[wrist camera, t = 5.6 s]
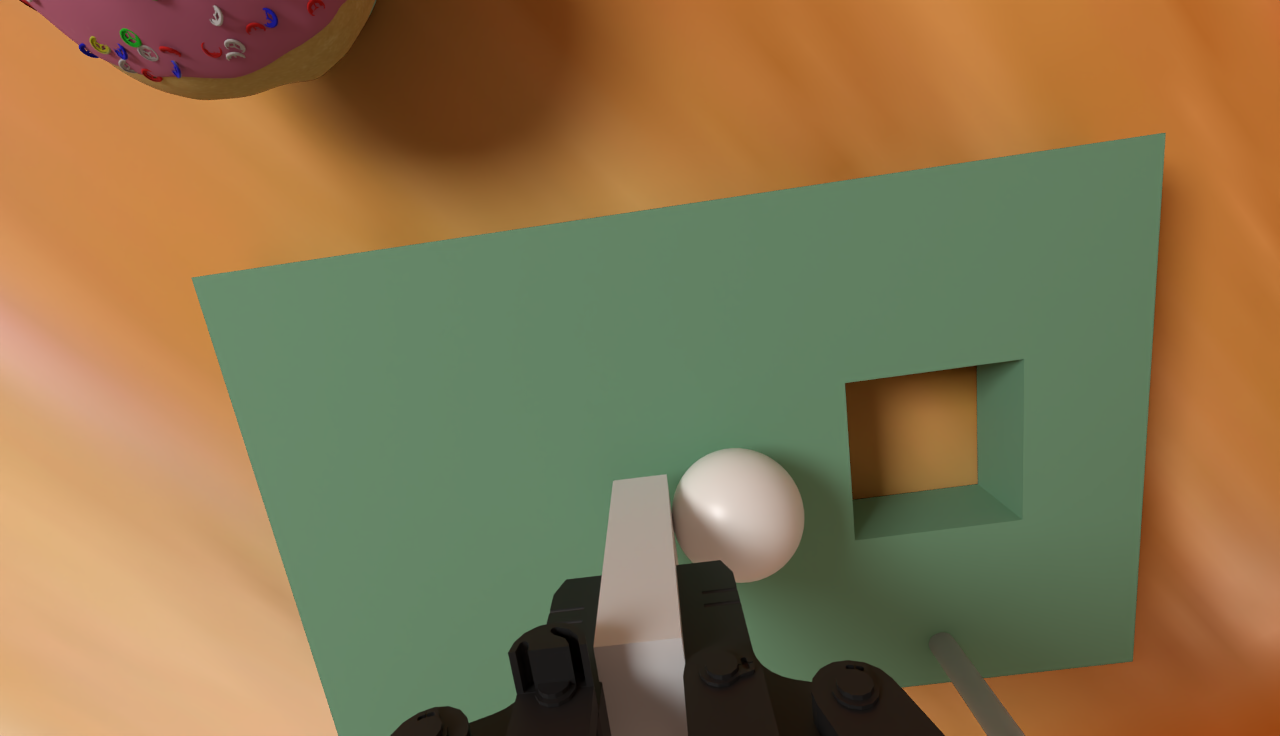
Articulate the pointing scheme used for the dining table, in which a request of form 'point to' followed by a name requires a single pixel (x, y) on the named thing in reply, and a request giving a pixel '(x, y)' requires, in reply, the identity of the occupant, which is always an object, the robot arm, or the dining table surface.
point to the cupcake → (212, 40)
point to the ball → (738, 513)
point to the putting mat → (713, 421)
